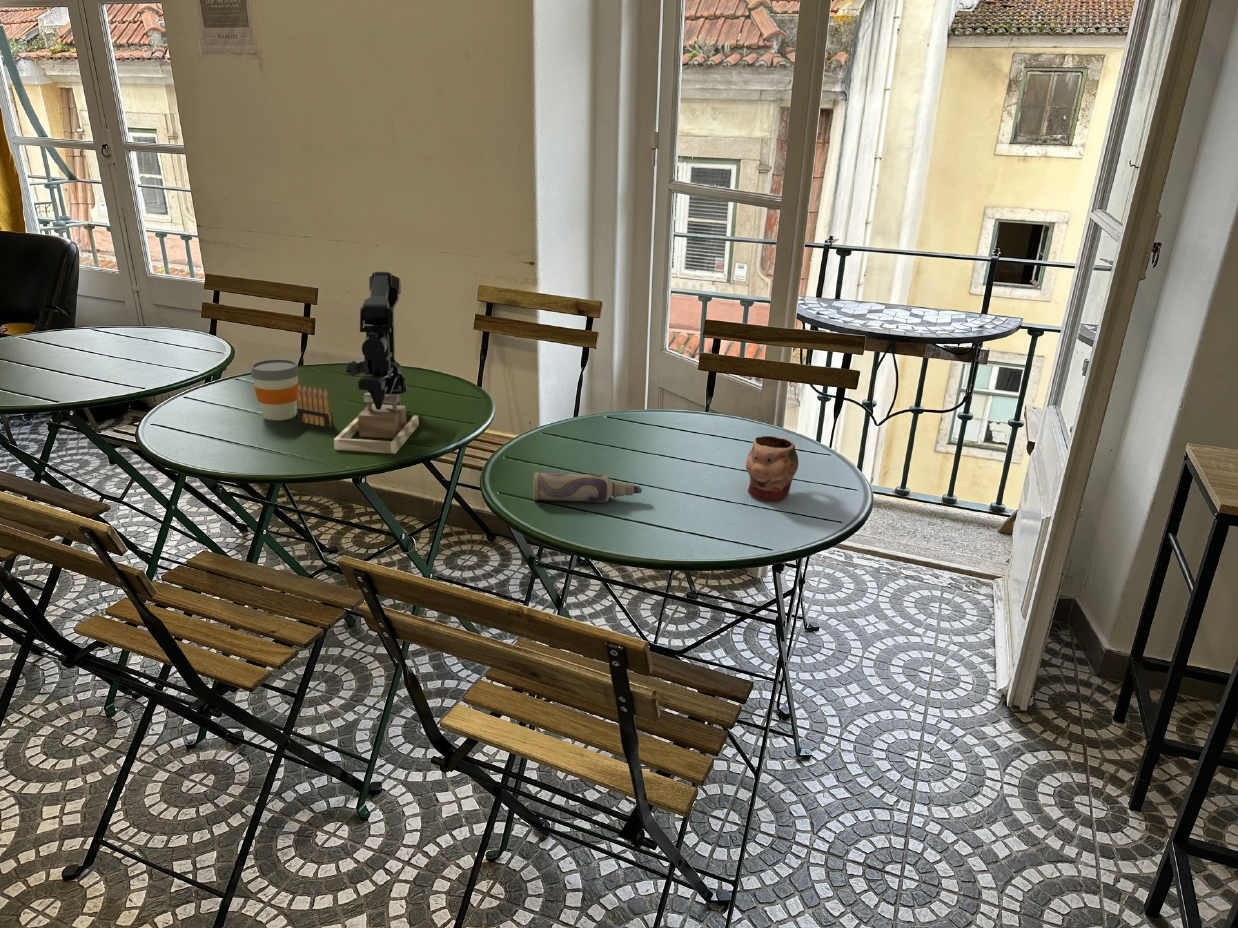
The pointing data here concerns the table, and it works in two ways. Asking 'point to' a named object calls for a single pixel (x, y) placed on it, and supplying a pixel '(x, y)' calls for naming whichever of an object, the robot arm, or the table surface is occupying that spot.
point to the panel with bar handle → (382, 418)
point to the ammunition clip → (313, 408)
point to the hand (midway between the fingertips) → (382, 405)
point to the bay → (347, 443)
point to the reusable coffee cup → (276, 388)
